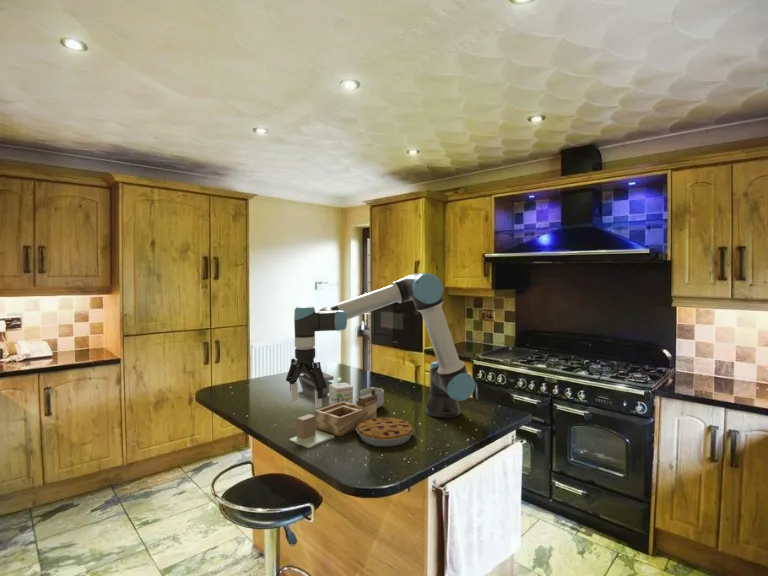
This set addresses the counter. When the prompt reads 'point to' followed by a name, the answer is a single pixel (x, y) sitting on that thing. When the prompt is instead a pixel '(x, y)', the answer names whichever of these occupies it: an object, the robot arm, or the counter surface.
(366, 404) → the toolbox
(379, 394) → the teacup
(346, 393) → the ink box
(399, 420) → the pie
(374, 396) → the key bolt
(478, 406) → the counter surface
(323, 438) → the lid
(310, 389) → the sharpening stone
